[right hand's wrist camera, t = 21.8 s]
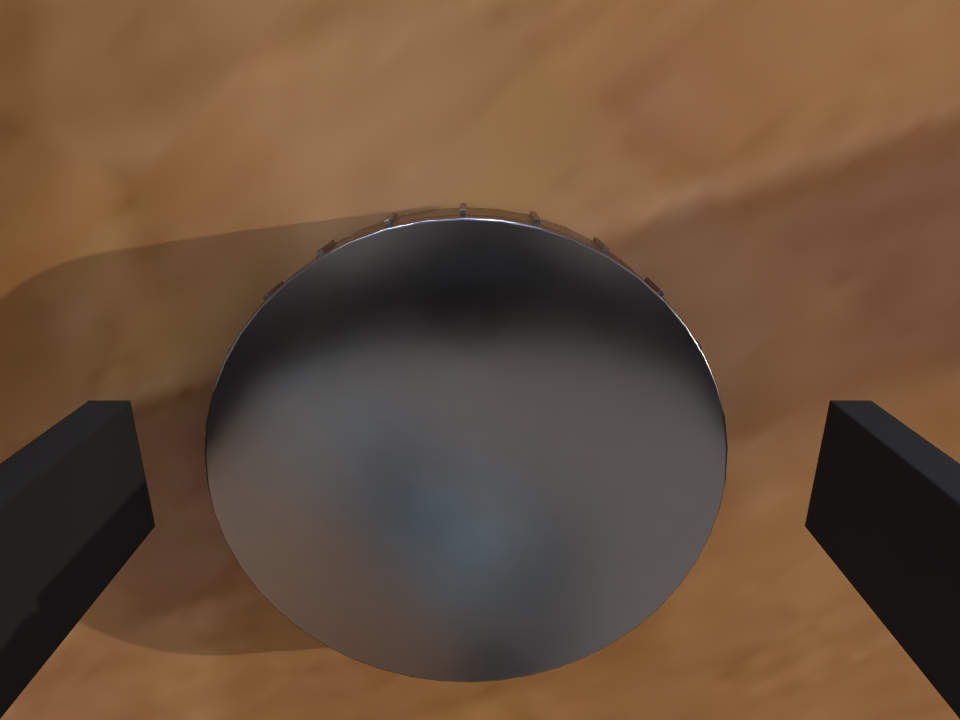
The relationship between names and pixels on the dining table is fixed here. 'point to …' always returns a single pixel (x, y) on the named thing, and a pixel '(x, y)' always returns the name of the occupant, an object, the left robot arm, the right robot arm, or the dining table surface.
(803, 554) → the dining table surface
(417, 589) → the lid
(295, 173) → the dining table surface
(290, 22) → the dining table surface
